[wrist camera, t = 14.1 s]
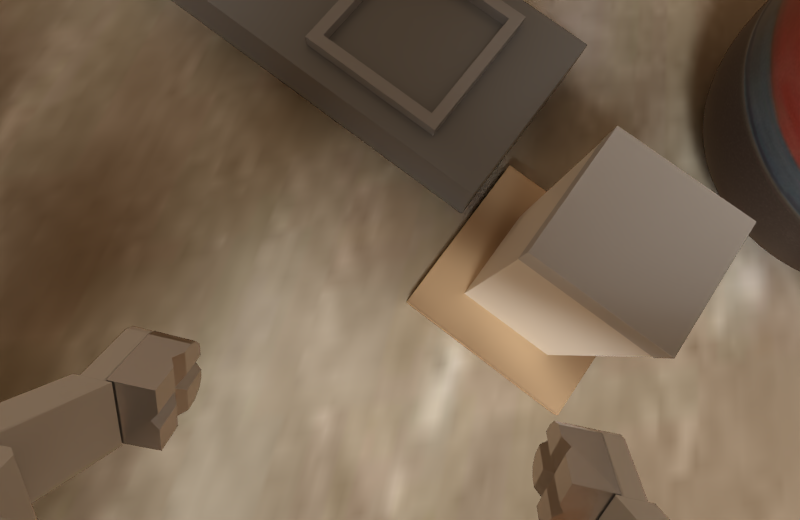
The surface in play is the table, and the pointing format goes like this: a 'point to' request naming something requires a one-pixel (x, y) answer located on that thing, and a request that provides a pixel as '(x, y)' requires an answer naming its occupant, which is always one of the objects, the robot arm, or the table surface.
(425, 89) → the power strip
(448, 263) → the coaster
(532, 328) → the block
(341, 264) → the table surface
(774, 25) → the vase
